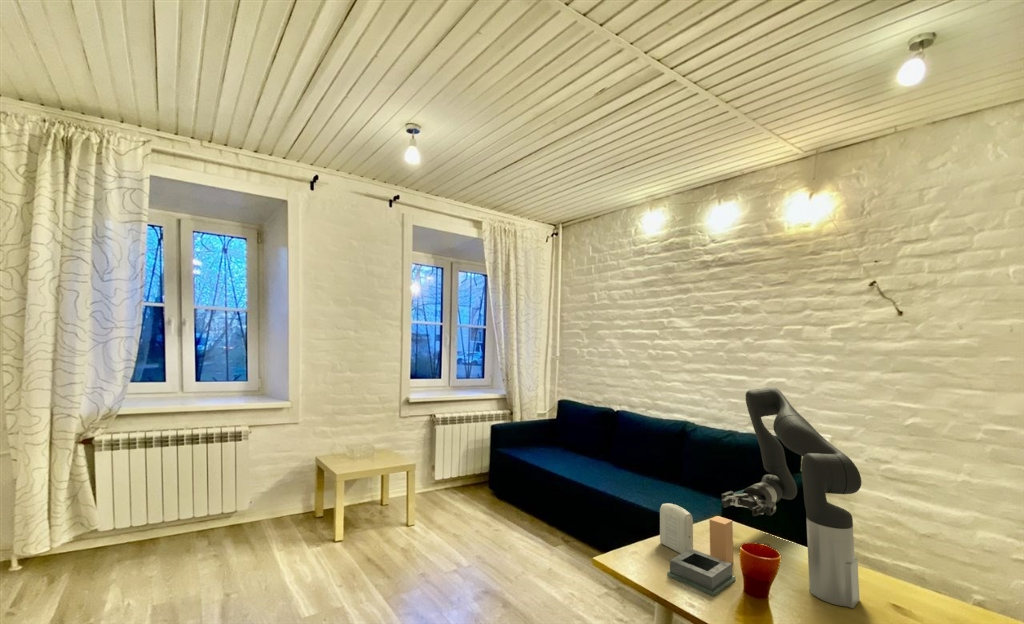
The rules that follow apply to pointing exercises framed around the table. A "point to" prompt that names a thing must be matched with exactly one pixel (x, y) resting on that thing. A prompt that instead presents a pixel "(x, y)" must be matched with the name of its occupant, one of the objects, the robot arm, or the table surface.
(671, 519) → the photo printer
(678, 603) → the table surface
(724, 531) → the tall orange pillar
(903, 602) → the table surface
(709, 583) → the square frame holder
